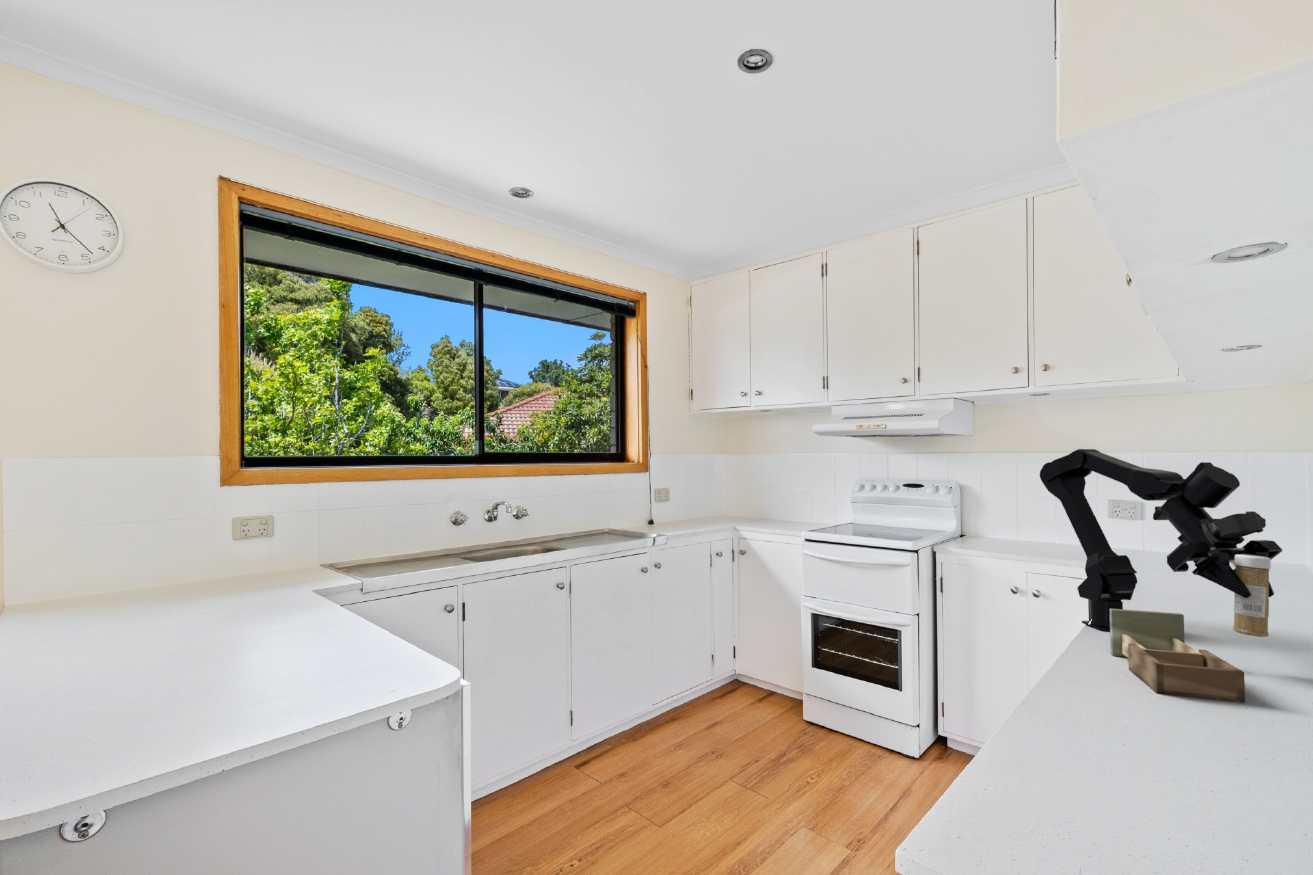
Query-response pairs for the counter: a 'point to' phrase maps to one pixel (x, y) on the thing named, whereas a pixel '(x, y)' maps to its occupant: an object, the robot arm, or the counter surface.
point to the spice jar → (1252, 595)
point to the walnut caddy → (1189, 676)
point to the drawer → (1152, 636)
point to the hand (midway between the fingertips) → (1260, 596)
